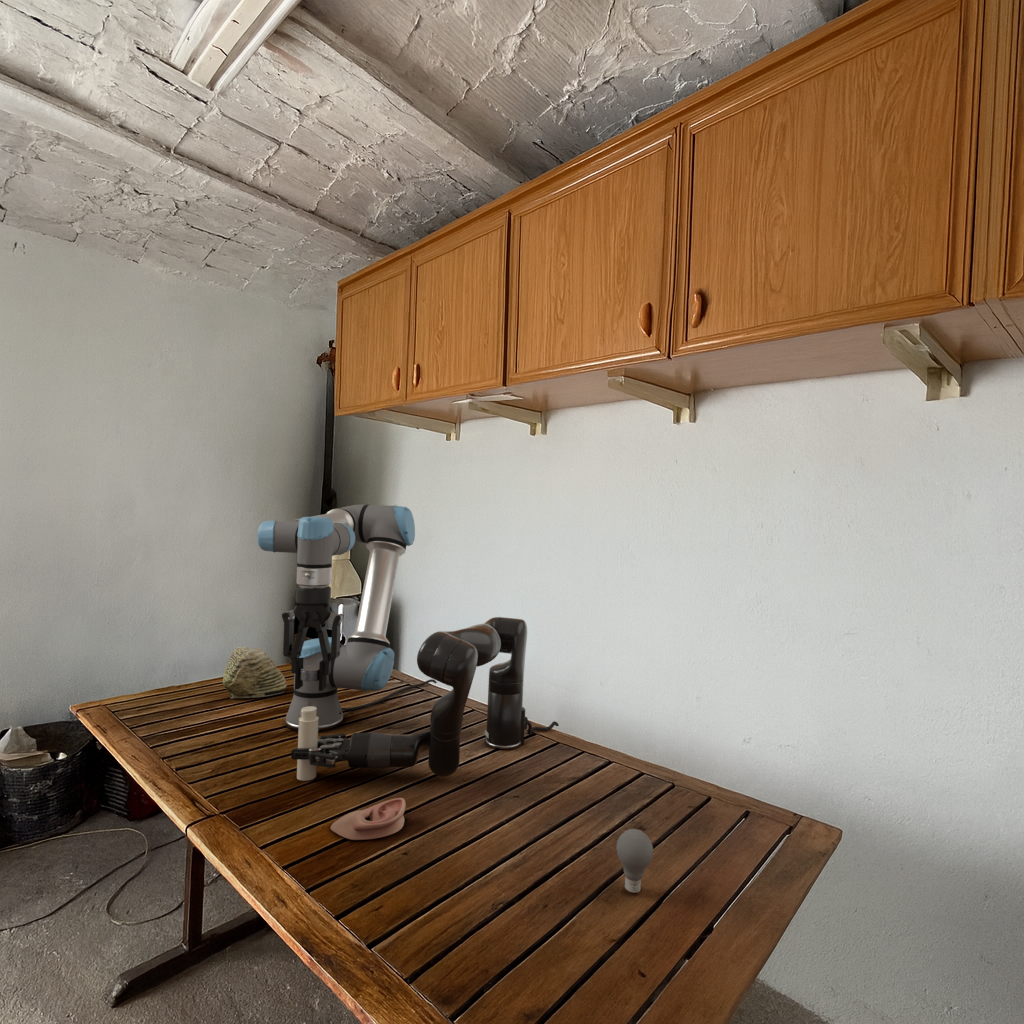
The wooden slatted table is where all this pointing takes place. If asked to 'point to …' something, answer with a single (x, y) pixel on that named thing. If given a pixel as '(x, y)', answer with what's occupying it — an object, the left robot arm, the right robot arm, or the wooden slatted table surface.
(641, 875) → the light bulb
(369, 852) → the wooden slatted table surface
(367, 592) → the left robot arm
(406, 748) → the right robot arm
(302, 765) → the beige cylinder
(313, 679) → the lid
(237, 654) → the fossil
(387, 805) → the anatomical model
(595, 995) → the wooden slatted table surface
